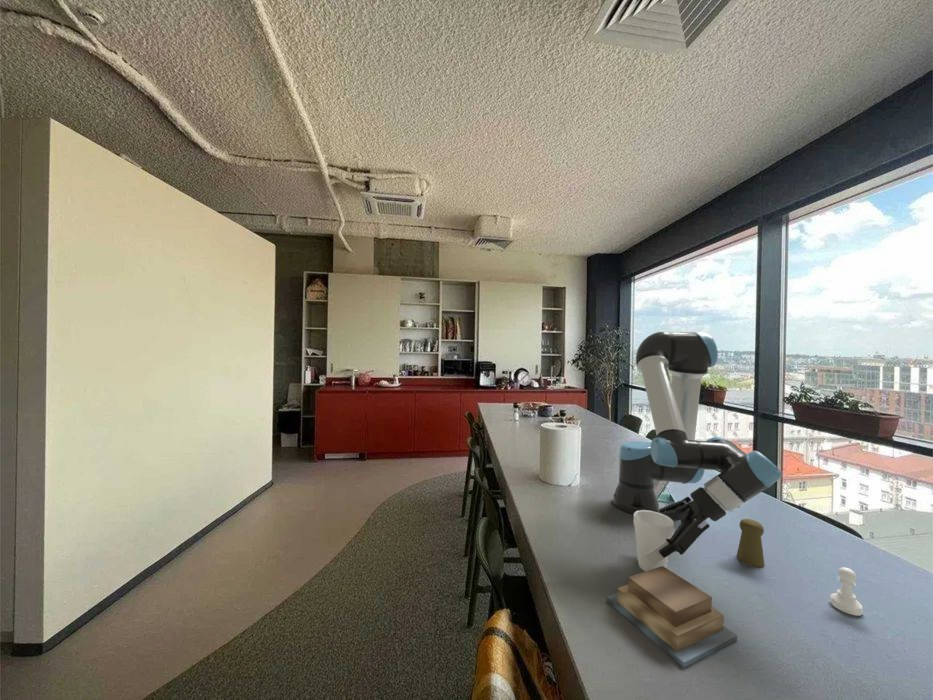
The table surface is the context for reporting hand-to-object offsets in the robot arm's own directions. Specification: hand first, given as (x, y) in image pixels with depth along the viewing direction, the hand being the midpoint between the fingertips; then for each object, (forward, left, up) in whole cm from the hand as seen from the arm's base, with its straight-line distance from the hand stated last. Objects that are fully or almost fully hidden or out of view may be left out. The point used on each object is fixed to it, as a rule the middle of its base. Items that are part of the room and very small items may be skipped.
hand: (645, 545), depth 93 cm
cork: (+9, +30, -6) cm, 32 cm away
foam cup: (+1, +1, -6) cm, 6 cm away
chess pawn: (+28, +30, -6) cm, 42 cm away
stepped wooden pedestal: (+15, -12, -6) cm, 20 cm away
